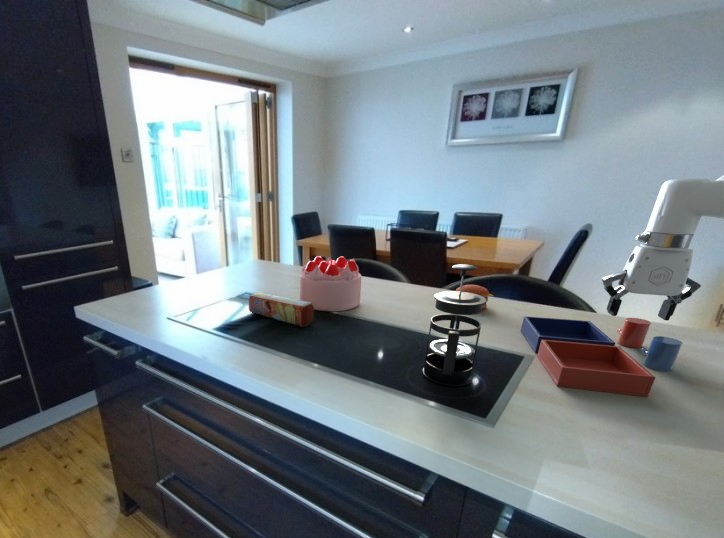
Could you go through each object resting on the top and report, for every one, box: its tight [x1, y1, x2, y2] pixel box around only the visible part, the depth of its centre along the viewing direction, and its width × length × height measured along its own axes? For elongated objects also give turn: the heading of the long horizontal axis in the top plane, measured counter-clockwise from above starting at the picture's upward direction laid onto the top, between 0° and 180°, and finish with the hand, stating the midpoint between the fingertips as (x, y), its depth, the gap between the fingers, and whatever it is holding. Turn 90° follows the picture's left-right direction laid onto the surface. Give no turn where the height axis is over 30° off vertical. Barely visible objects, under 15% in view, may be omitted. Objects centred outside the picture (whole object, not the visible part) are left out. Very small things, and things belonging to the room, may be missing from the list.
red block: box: [616, 317, 652, 349], centre depth 93 cm, size 9×4×6 cm, turn 161°
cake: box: [299, 255, 362, 312], centre depth 125 cm, size 20×20×14 cm
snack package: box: [248, 291, 315, 328], centre depth 113 cm, size 21×7×7 cm, turn 48°
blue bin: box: [520, 315, 616, 354], centre depth 92 cm, size 14×14×4 cm
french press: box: [422, 263, 487, 388], centre depth 75 cm, size 12×9×23 cm
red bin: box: [537, 340, 656, 398], centre depth 78 cm, size 14×14×4 cm
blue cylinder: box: [640, 335, 683, 372], centre depth 82 cm, size 9×4×6 cm, turn 161°
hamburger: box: [455, 284, 495, 311], centre depth 120 cm, size 9×10×7 cm
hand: (636, 316), depth 90 cm, fingers open, 9 cm apart
